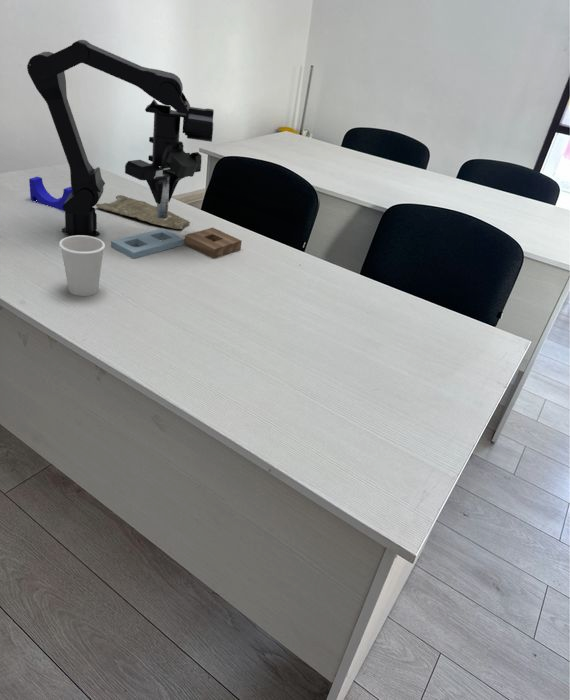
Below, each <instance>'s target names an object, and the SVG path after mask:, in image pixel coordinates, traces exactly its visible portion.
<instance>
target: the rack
mask: <svg viewBox="0 0 570 700" xmlns="http://www.w3.org/2000/svg"><path fill="white" fill-rule="evenodd" d="M160 239H162V240H160ZM184 241H185V237H182V236H180V235H178V234H176V233H174V232H171V231H169V230H167V229H165V228H163V227H162V228H157V229H154V230H149V231H145V232H141V233H136V234H133V235H129V236H124V237H122V238H117V239H113V240H111V241H110V247H111V248H113V249H115V250H117V251H118V252H121V253H122V254H124V255H126V256H127V257H130V258H131V259H137V258H142V257H145V256H149V255H151V254H152V255H153V254H155V253H159V252H162V251H166V250H169V249H172V248H177V247H180V246H183V245H184ZM136 245H137V246H138V247H137V246H136ZM134 246H136V247H134ZM184 246H185V245H184Z"/></svg>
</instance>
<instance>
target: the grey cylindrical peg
mask: <svg viewBox="0 0 570 700" xmlns="http://www.w3.org/2000/svg"><path fill="white" fill-rule="evenodd" d="M163 177H164V178H167V179H166V180H165V181H164V182H163V184H162V195H161V202H160V204H157V203H156V207H157V217H158V218H162V219H165V218H167V217H168V211H169V202H168V201H169V184H170V175H168V174H163Z"/></svg>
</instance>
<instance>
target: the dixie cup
mask: <svg viewBox="0 0 570 700" xmlns="http://www.w3.org/2000/svg"><path fill="white" fill-rule="evenodd" d="M58 245H59V247H60V249H61V256H62V260H63V267H64V270H65V271H64V272H65V277H66V282H67V287H68V292H69V293H71V294H72V295H74V296H78V297H89V296H93V295H95V294H97V293H98V292H99V287H100V279H101V270H102V261H103V255H104V249H105V248H106V244H105V242H104V241H102V240H101V239H100V238H97V237H95V236H92V237H91V236H84V235H76V236H70V235H68V236H66V237H64V238H62V239H61V240H60V241H59V243H58Z"/></svg>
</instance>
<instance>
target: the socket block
mask: <svg viewBox="0 0 570 700" xmlns="http://www.w3.org/2000/svg"><path fill="white" fill-rule="evenodd" d="M184 239H185V241H184V246H187V247H188V248H190V249H193V250H195V251H197V252H199V253H201V254H203V255H205V256H207V257H210V258H212V259H216V258H220V257H223V256H226V255H229V254H233V253H235V252H238V251H241V249H242V241H243V240H241V239H239V238H237V237H234V236H232V235H230V234H229V233H226V232H223V231H221V230H219V229H217V228H214V227H210V228H209V227H208V228H206V229H202V230H198V231H194V232H191V233H187V234H185V235H184Z"/></svg>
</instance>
